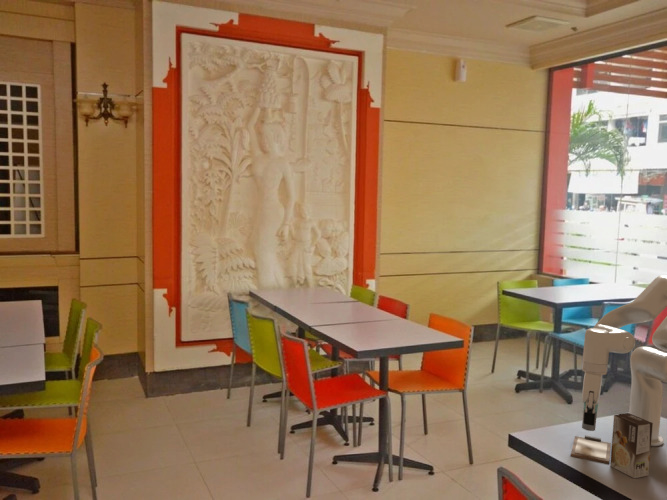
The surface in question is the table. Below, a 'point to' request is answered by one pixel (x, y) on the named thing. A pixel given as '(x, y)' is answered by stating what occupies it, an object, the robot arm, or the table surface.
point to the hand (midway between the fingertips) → (589, 421)
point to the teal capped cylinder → (592, 428)
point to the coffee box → (631, 445)
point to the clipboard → (591, 449)
